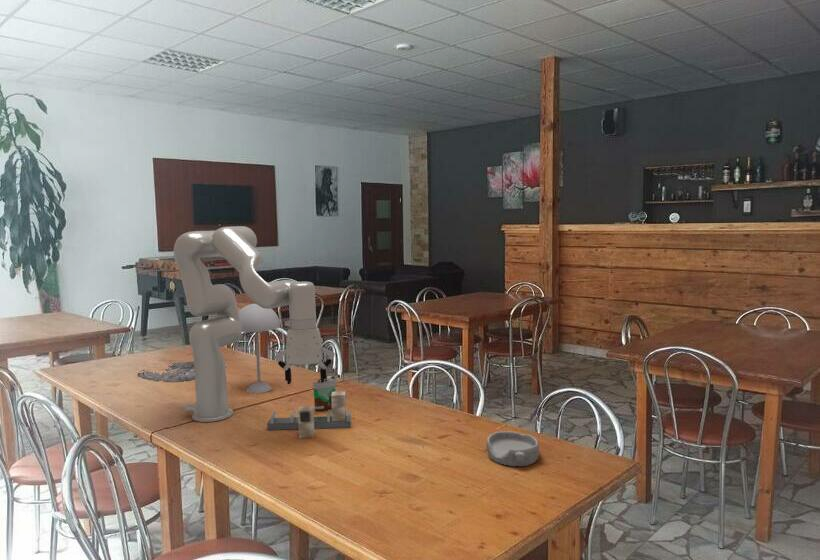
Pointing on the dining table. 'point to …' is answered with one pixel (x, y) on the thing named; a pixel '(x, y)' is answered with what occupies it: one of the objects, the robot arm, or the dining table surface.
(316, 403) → the food container
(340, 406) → the block
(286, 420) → the rail
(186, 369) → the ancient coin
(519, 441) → the dish
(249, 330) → the lamp
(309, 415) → the block
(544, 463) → the dining table surface
